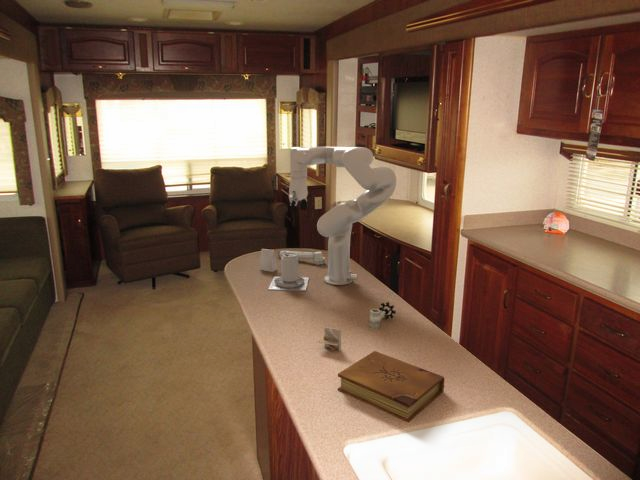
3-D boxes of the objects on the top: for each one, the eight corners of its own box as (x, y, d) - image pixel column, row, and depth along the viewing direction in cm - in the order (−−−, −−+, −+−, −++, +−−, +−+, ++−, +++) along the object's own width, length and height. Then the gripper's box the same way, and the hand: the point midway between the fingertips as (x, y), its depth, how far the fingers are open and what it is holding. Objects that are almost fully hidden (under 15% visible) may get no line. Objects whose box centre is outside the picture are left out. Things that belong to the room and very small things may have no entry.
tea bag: (272, 271, 244) (272, 251, 241) (260, 270, 246) (259, 249, 244) (276, 269, 247) (276, 249, 244) (264, 267, 250) (263, 247, 247)
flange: (309, 278, 235) (309, 274, 235) (305, 290, 220) (305, 287, 219) (274, 277, 236) (274, 273, 236) (268, 289, 221) (268, 286, 221)
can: (286, 276, 232) (286, 250, 229) (301, 279, 229) (301, 253, 226) (278, 281, 226) (277, 255, 223) (293, 284, 223) (292, 257, 220)
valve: (380, 332, 182) (395, 320, 192) (381, 314, 180) (396, 303, 190) (363, 327, 185) (379, 316, 195) (364, 310, 184) (380, 299, 193)
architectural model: (337, 355, 166) (338, 333, 164) (317, 351, 169) (317, 330, 167) (341, 350, 169) (341, 329, 167) (321, 347, 172) (321, 326, 170)
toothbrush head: (282, 249, 267) (325, 249, 255) (283, 261, 268) (327, 262, 257) (276, 252, 262) (321, 251, 251) (278, 264, 264) (322, 265, 252)
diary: (443, 394, 145) (445, 375, 144) (408, 424, 132) (409, 404, 130) (375, 366, 160) (376, 349, 158) (337, 391, 146) (337, 372, 144)
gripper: (299, 171, 242) (299, 207, 247) (282, 176, 227) (282, 215, 232) (314, 172, 240) (314, 209, 244) (297, 178, 224) (297, 216, 229)
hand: (298, 212), depth 238 cm, fingers open, 9 cm apart
